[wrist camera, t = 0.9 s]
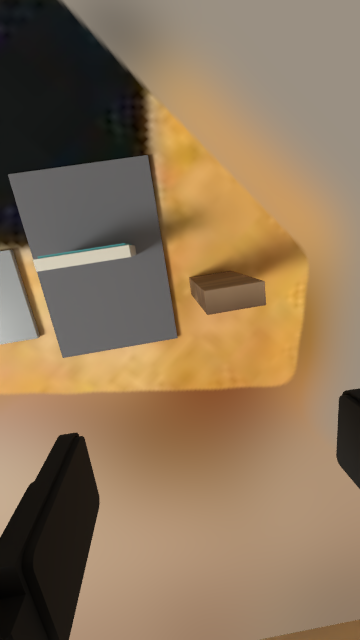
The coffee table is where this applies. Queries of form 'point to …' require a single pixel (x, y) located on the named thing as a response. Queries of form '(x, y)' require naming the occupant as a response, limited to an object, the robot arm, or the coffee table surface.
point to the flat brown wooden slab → (227, 292)
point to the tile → (84, 256)
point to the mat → (90, 232)
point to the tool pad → (14, 303)
